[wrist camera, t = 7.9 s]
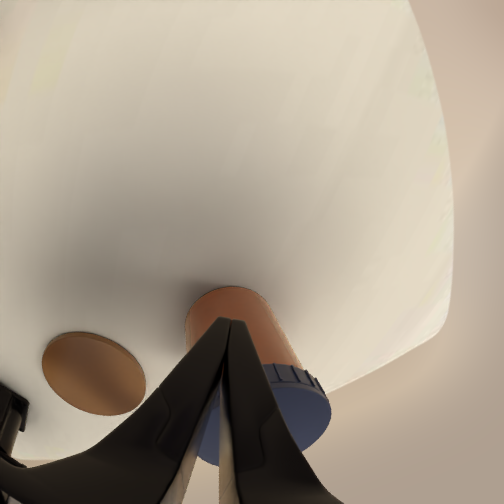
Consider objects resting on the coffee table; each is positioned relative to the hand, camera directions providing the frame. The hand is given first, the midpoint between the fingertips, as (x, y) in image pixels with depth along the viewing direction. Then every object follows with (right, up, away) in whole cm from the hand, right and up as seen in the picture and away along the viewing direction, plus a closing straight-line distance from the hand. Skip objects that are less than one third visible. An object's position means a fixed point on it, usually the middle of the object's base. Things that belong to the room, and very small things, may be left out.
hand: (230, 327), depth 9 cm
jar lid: (+1, -6, +4) cm, 7 cm away
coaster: (-12, -8, +11) cm, 18 cm away
